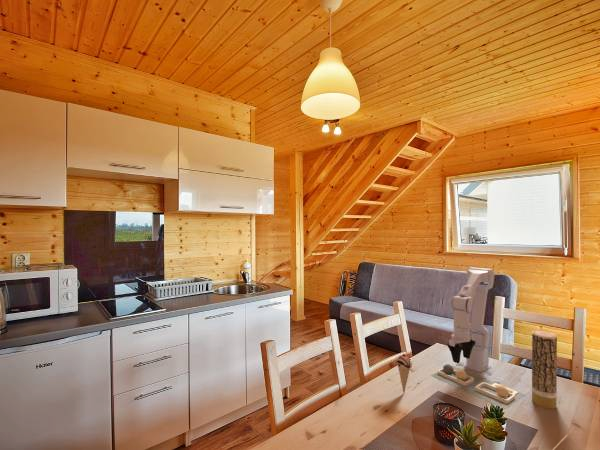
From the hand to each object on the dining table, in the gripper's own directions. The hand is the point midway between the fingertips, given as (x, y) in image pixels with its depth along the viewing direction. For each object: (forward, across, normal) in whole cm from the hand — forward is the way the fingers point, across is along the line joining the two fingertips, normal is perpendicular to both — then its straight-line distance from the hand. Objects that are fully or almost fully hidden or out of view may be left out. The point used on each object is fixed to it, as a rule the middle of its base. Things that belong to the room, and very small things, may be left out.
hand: (461, 360), depth 126 cm
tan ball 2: (+8, 0, +15) cm, 17 cm away
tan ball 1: (+8, 0, 0) cm, 8 cm away
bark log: (+9, -8, +25) cm, 28 cm away
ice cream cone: (+9, +27, -7) cm, 29 cm away
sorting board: (+8, -1, +5) cm, 10 cm away
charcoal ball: (+8, 0, -6) cm, 10 cm away
